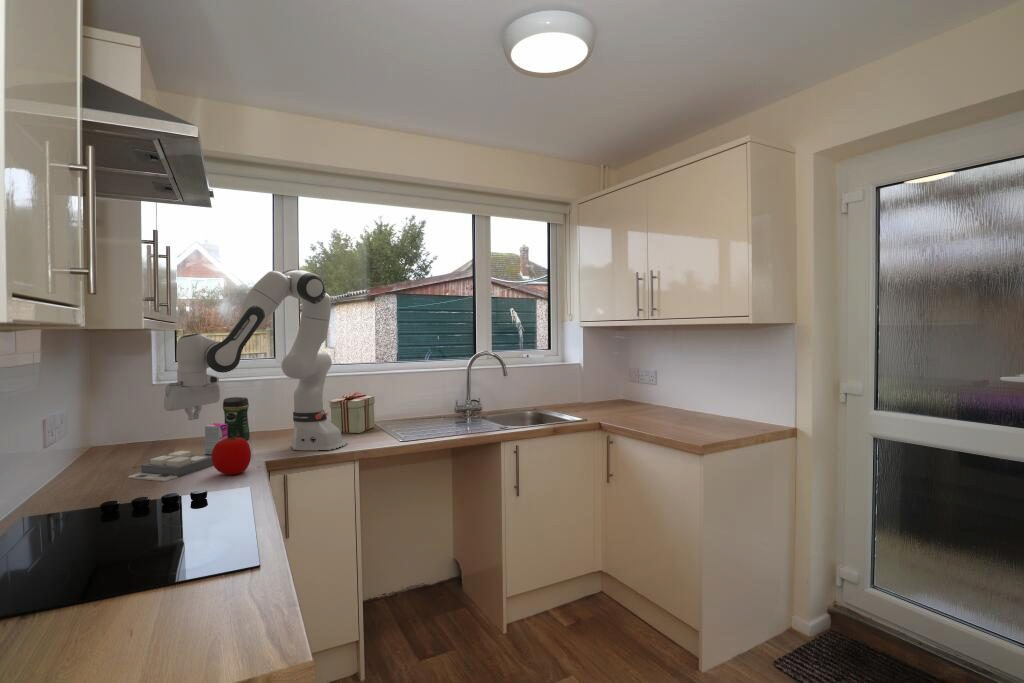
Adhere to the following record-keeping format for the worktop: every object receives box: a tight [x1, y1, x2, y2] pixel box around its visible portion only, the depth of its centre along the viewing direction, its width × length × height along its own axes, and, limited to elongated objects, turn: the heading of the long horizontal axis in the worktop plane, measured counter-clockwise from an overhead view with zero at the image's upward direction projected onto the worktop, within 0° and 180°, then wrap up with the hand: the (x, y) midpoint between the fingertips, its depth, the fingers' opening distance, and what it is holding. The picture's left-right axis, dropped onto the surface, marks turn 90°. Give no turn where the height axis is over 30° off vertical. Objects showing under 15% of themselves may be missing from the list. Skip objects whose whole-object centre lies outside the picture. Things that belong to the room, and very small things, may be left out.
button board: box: [127, 453, 214, 482], centre depth 179 cm, size 16×20×3 cm
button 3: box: [167, 450, 193, 458], centre depth 185 cm, size 5×5×2 cm
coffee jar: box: [222, 396, 251, 441], centre depth 224 cm, size 10×8×19 cm
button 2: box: [166, 457, 191, 467], centre depth 177 cm, size 5×5×2 cm
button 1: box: [149, 455, 175, 465], centre depth 179 cm, size 5×5×2 cm
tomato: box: [212, 436, 252, 476], centre depth 175 cm, size 12×12×13 cm
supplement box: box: [204, 422, 228, 456], centre depth 201 cm, size 6×6×12 cm
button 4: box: [191, 456, 208, 461], centre depth 184 cm, size 5×5×2 cm
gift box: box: [327, 391, 376, 434], centre depth 244 cm, size 17×18×17 cm
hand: (193, 419), depth 183 cm, fingers closed
